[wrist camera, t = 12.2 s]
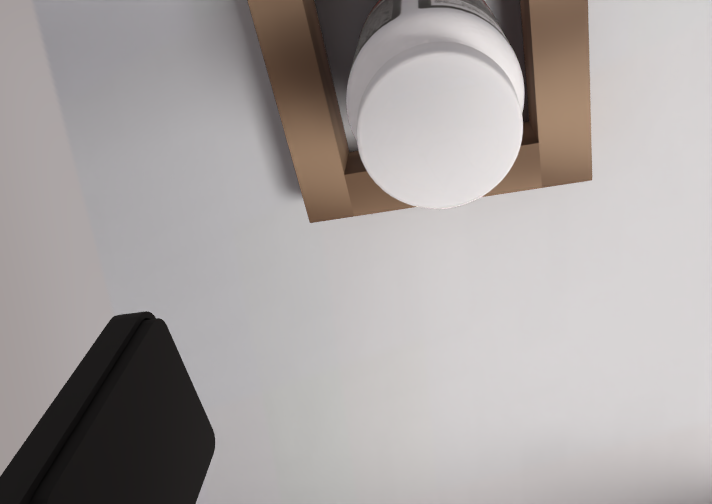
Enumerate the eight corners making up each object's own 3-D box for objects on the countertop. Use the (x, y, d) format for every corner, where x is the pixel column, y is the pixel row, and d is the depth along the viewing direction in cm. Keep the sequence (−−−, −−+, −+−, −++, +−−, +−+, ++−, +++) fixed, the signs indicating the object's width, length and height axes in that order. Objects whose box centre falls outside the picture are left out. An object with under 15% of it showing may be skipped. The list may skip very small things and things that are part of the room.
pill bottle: (389, 133, 28) (378, 249, 20) (337, 9, 26) (299, 80, 17) (516, 86, 27) (563, 189, 18) (474, -51, 24) (507, -5, 16)
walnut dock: (578, 156, 28) (592, 179, 26) (317, 197, 30) (310, 223, 28) (567, -160, 22) (583, -163, 20) (242, -81, 24) (225, -76, 22)
